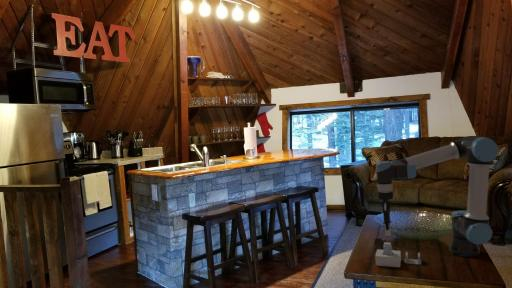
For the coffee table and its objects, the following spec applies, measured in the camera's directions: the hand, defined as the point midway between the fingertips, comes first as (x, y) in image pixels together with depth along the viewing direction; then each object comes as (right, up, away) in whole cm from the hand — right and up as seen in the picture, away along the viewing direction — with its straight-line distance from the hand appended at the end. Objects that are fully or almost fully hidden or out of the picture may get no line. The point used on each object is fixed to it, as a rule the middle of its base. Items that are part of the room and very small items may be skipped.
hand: (388, 235), depth 209 cm
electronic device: (+4, -14, +20) cm, 25 cm away
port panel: (+1, -16, +1) cm, 16 cm away
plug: (0, -13, +1) cm, 13 cm away
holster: (+13, -15, 0) cm, 20 cm away
